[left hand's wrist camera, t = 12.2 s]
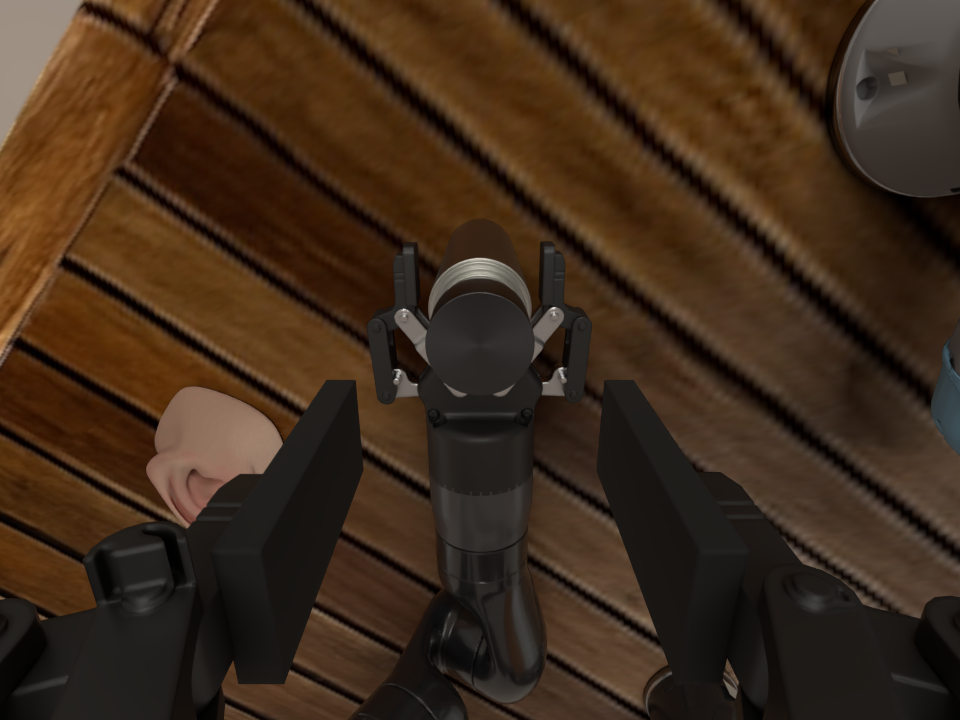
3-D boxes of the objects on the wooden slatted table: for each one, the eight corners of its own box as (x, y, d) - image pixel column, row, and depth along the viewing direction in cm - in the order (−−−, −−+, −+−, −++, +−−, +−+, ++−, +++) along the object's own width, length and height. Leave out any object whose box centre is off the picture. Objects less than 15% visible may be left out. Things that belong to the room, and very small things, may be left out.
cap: (434, 272, 22) (429, 286, 20) (535, 283, 22) (542, 298, 20) (427, 367, 24) (421, 390, 21) (522, 376, 24) (526, 400, 22)
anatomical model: (122, 399, 40) (279, 422, 41) (152, 379, 44) (295, 400, 45) (133, 544, 45) (273, 562, 45) (159, 514, 49) (289, 531, 49)
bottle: (450, 215, 40) (421, 274, 20) (516, 222, 40) (551, 287, 20) (444, 281, 41) (413, 393, 22) (508, 287, 41) (533, 405, 22)
